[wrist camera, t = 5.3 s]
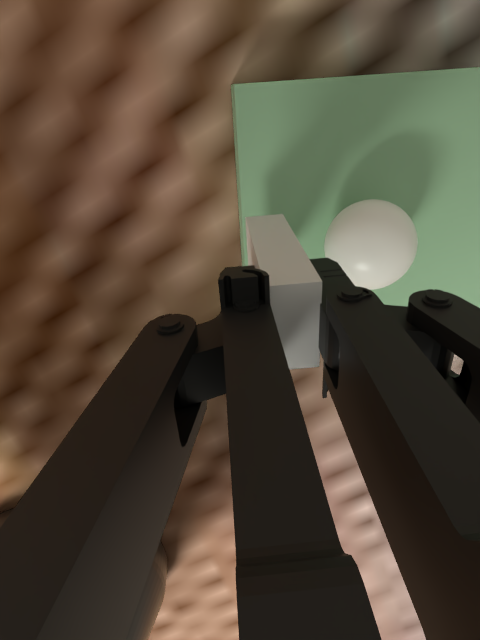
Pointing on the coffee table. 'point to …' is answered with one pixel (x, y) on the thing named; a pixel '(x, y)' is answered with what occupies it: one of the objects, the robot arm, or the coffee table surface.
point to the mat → (369, 164)
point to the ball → (372, 243)
